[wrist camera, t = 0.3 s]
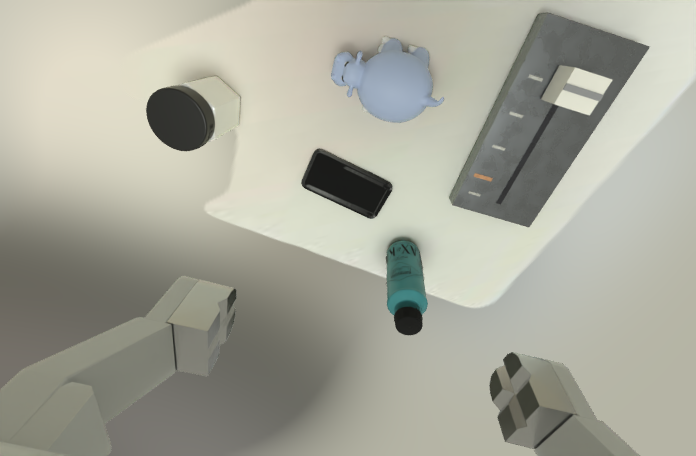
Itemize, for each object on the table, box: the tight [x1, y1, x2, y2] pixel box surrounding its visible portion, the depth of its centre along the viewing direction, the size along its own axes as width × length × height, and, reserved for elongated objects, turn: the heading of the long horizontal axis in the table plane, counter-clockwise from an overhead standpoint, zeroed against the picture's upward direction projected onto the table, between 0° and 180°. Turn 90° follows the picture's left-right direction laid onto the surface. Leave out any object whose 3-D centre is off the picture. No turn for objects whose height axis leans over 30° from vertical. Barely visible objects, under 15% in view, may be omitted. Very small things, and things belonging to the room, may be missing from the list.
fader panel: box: [449, 13, 649, 227], centre depth 49 cm, size 28×14×3 cm, turn 165°
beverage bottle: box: [386, 241, 428, 335], centre depth 55 cm, size 6×7×20 cm
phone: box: [302, 149, 392, 219], centre depth 57 cm, size 8×1×15 cm
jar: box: [146, 76, 240, 151], centre depth 47 cm, size 9×8×12 cm
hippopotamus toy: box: [331, 36, 444, 123], centre depth 44 cm, size 11×15×10 cm
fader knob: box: [541, 65, 612, 115], centre depth 42 cm, size 4×5×4 cm
